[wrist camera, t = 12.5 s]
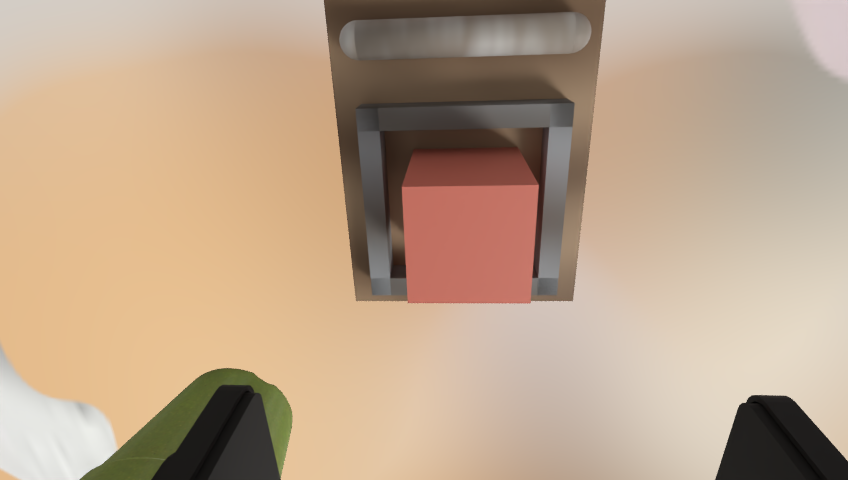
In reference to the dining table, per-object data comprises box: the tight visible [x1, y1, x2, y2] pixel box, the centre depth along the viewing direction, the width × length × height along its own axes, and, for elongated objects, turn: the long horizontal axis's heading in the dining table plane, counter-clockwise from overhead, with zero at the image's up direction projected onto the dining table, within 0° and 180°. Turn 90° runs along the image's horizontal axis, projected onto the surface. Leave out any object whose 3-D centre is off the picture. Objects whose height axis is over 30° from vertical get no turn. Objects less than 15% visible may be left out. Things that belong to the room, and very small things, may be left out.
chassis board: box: [324, 0, 606, 301], centre depth 23 cm, size 16×12×3 cm
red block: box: [402, 147, 539, 303], centre depth 21 cm, size 5×5×6 cm
